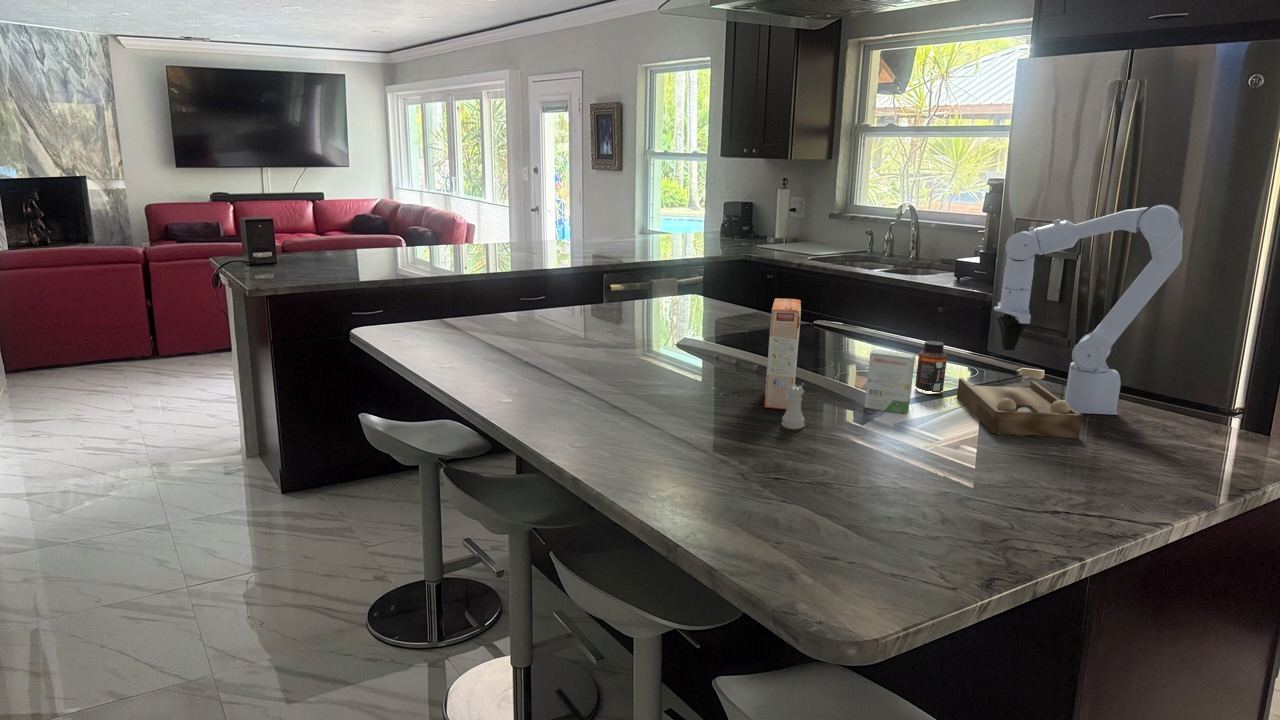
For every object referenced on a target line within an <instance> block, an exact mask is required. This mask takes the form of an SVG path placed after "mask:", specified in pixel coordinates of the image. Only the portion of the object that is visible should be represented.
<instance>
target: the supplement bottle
mask: <svg viewBox="0 0 1280 720" xmlns="http://www.w3.org/2000/svg"><path fill="white" fill-rule="evenodd" d="M944 344H945V343H944V342H941V341H938V340H937V341H936V340H927V341H924V346H923V347H924V349H923V350H920V352H919V353H918V358H917V359H918V360H917V365H916V366H917V368H916V376H915V385H914V387H915V386H916V387H917V388H919V389H922V390H925V391H932V392H941V391H943V392H944V386H945V377H946V368H947V359H948V355H947V354H946V352H945V351H944V349H945V348H944V346H945V345H944Z"/></svg>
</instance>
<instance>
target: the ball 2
mask: <svg viewBox="0 0 1280 720" xmlns="http://www.w3.org/2000/svg"><path fill="white" fill-rule="evenodd" d="M1063 400H1064V399H1060V400H1057V401H1055V402H1053V403H1052V404H1051V407H1050V411H1051V413H1066V414H1069V412H1070V407H1069V405H1068V403H1067V402H1065V401H1063Z"/></svg>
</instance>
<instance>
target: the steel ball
mask: <svg viewBox="0 0 1280 720" xmlns="http://www.w3.org/2000/svg"><path fill="white" fill-rule="evenodd" d="M1017 411H1022V412H1032V411H1031V410H1030V409H1029V408H1026V407H1022V408H1019V409H1018V410H1017Z"/></svg>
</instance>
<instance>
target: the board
mask: <svg viewBox="0 0 1280 720" xmlns="http://www.w3.org/2000/svg"><path fill="white" fill-rule="evenodd" d="M1003 398H1010V399H1012V400H1014V402H1015V403H1016V410H1015V411H1000V410H998V409H997V404H998V402H999V401H1000V400H1001V399H1003ZM956 399H957V400H958V399H959V400H960V401H961V402H962V403H963V404H964V405H965V406H966V407H965V406H964V405H963V404H962V403H961V402H960V401H959V402H960V403H961V404H962V405H963V406H964V407H965V408H966V409H967V408H968V409H967V410H968V411H969V410H970V411H969V412H970V413H971V414H972V413H973V414H974V415H975V416H976V417H977V418H978V419H979V420H980V421H981V422H982V423H983V424H984V425H985V426H986V427H987V428H988V429H989V430H990V431H991V432H992V433H1000V434H999V435H1004V434H1014V435H1013V436H1025V435H1037V436H1036V437H1046V436H1050V437H1049V438H1069V439H1070V438H1071V439H1080V434H1081V427H1082V422H1083V415H1082V413H1078V412H1077V411H1076V410H1074V409H1073V408H1071V407H1070V406H1069V407H1070V412H1069V414H1066V413H1051V411H1050V407H1051V404H1052V403H1053V402H1055V401H1057V400H1061V399H1060V398H1059V397H1058V396H1056V395H1055V394H1053V393H1052V392H1050V391H1049V390H1048V389H1046V388H1045V387H1043V386H1042V385H1041V384H1039V383H1038V382H1037V381H1034V380H1033V381H1032V380H1030V387H1019V386H1017V387H1016V386H1015V387H1014V386H993V385H990V386H989V385H971V384H970V383H969V382H967V380H965V378H964V377H961V378H958V384H957V392H956ZM1022 407H1026V408H1029V409H1030V410H1031V411H1032V412H1022V411H1017V410H1018V409H1019V408H1022ZM973 414H972V415H973ZM974 415H973V416H974ZM975 416H974V417H975ZM976 417H975V418H976ZM977 418H976V419H977ZM978 419H977V420H978ZM979 420H978V421H979ZM980 421H979V422H980ZM981 422H980V423H981ZM982 423H981V424H982ZM983 424H982V425H983ZM984 425H983V426H984ZM985 426H984V427H985ZM986 427H985V428H986ZM987 428H986V429H987ZM988 429H987V430H988ZM989 430H988V431H989ZM990 431H989V432H990ZM991 432H990V433H991ZM992 433H991V434H992ZM1015 434H1017V435H1015Z"/></svg>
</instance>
